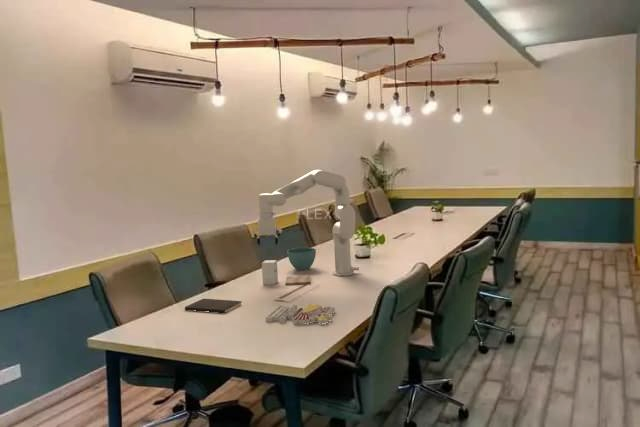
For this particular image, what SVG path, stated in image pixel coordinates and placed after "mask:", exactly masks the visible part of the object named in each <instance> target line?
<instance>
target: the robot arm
mask: <svg viewBox="0 0 640 427" xmlns="http://www.w3.org/2000/svg"><path fill="white" fill-rule="evenodd" d="M318 185H319V186H323V187H327V188H330V189H331V190H333V193H334V215H335V217H336V218H337V219H339V221H337V222H335V223H334V225H333V226H332V238H333V245H334V246H333V247H334V248H333V249H334V266H335V270H334V271H333V272H332V275H333V276H337V277H338V276H339V277H347V276H352V275H354V274H355V272H354V271H359V270H360V267H359V266H358V267H357V266H353V265H352V258H351V257H352V256H351V253H352V252H351V241H350V239H352V238H353V237H354V236H355V232H356V211H355V209H354V207H353V206H352V205H350V190H349V187H348V186H347V180H346V178H345V177H344V176H343V175H342V174H337V173H333V172H329V171H326V170H322V169H314V170H312V171H310V172H308V173H307V174H305V175H303V176H301V177H300V178H298V179H295V180H294V181H292V182H291V183H288V184H286V185H284V186H282V187H281V188H278V189H276V190H275V191H274V192H272V193H260V194H259V195H258V206H259V207H258V208H259V217H258V219H257V220H258V221H257V228H254V229H253V230H252V231H251V233H252V234H253V237H255V238H256V239H257V240H256V243H257V245H258V246H261V238H260V237H261V236H274V237H275V238H274V240H275V241H274V242H275V245H276V246H277V245H278V244H279V237H280V236H281V234H282V232H283V229H282V228H279V227H278V226H277V224H276V219H275V217H274V216H276V212H274V211H273V209H274V208H273V207H274V206H275V207H277V206H278V207H282V206H284V205H285V204H286V203H287V199H289V198H291V197H294V196H299V195H302V194H305V193H306V192H308V191H309V190H311V189H313V188H315V187H317V186H318ZM277 231H278V234H277ZM256 232H257V233H256Z"/></svg>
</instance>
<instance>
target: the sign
mask: <svg viewBox="0 0 640 427" xmlns="http://www.w3.org/2000/svg"><path fill="white" fill-rule="evenodd" d="M334 311H335V312H336V310H335V307H331V306H324V307H323V305H320V304H308V305H307V306H306V307H305V309H304V308H303V307H299V308H298V305H297V304H294V305H292V306H291V307H289V306H286V305H285V304H284V305H281V304H280V305H278V306H277V307H275V308H274V309H273V310H272V311H271V312H270V313H268V314H267V315H266V316H265V322H266V321H272V322H274V321H273V320H279V321H278V322H286V321H287V320H288V319H290V320H291V322H292V321H294V322H293V325H294V324H297V325H298V324H305V323H310V322H311V323H314V322H315V321H318V322H317V324H318V323H320V324H322V323H326V322H329V323H330V321H329V320H332V319H333V315H331V314H332V313H333V312H334ZM335 312H334V313H335ZM334 313H333V314H334ZM309 315H310V316H309ZM287 318H288V319H287ZM286 319H287V320H286ZM285 320H286V321H285ZM311 323H310V324H311ZM315 323H316V322H315ZM315 323H314V324H315ZM305 325H306V324H305Z"/></svg>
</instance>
